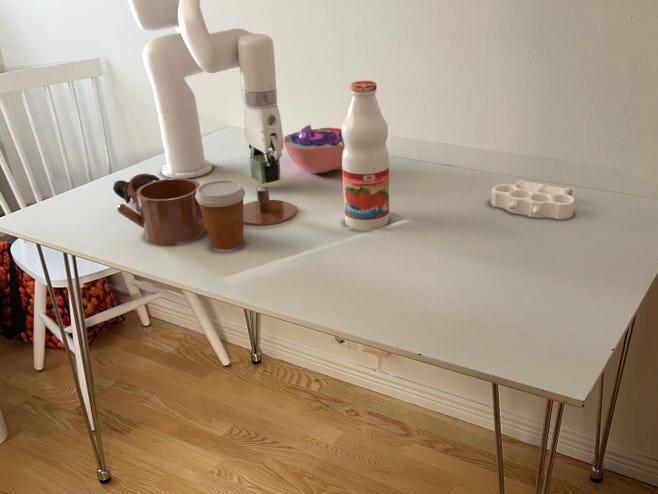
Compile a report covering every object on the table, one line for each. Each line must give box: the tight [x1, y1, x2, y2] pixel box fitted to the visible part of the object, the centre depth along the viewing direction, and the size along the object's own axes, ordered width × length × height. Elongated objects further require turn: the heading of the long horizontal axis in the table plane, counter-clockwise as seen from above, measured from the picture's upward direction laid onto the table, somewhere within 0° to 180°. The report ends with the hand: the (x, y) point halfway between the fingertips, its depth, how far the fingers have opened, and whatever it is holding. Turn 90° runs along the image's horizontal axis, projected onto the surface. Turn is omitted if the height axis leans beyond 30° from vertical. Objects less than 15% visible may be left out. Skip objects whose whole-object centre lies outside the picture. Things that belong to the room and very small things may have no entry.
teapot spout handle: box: [116, 203, 144, 229], centre depth 145 cm, size 21×2×6 cm, turn 105°
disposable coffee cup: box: [195, 179, 246, 251], centre depth 138 cm, size 10×10×12 cm
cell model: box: [283, 124, 345, 175], centre depth 173 cm, size 17×20×11 cm
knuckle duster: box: [490, 179, 576, 221], centre depth 152 cm, size 3×18×15 cm
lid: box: [243, 186, 297, 227], centre depth 152 cm, size 13×13×6 cm
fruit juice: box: [341, 80, 390, 231], centre depth 141 cm, size 9×9×28 cm
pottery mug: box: [112, 173, 161, 213], centre depth 159 cm, size 12×10×8 cm
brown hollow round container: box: [136, 177, 207, 246], centre depth 145 cm, size 13×13×10 cm
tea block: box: [249, 153, 282, 185], centre depth 163 cm, size 5×5×5 cm
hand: (265, 176), depth 164 cm, fingers closed on tea block, 5 cm apart
